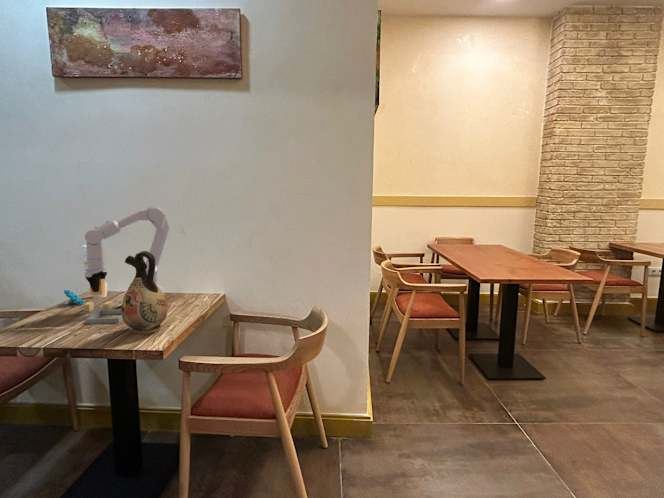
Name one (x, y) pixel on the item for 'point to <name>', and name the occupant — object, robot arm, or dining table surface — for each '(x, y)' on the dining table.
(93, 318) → the parts tray
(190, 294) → the dining table surface
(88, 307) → the panel
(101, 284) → the block
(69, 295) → the gear
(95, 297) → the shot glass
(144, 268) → the ceramic jug
